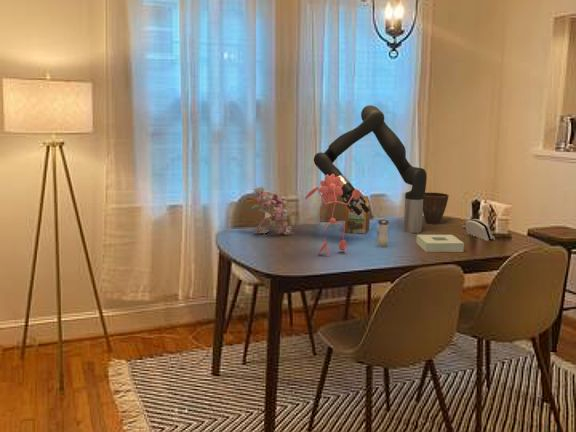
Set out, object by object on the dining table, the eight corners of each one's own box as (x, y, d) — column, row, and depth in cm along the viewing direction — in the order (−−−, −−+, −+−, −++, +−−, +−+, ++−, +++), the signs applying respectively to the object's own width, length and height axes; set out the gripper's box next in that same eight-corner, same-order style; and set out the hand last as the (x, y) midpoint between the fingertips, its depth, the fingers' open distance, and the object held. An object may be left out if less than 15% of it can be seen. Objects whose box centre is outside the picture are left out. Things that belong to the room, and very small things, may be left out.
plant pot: (441, 220, 336) (443, 192, 333) (450, 225, 322) (452, 196, 318) (416, 220, 335) (417, 192, 332) (423, 225, 321) (425, 196, 317)
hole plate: (416, 242, 281) (416, 234, 280) (451, 242, 282) (452, 234, 281) (425, 251, 264) (426, 243, 263) (463, 251, 265) (464, 243, 264)
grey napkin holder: (495, 240, 288) (491, 221, 286) (487, 243, 287) (483, 225, 285) (475, 232, 304) (470, 215, 301) (467, 236, 303) (463, 218, 300)
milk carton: (344, 233, 301) (345, 196, 297) (349, 229, 310) (350, 193, 307) (365, 234, 297) (366, 197, 294) (369, 230, 307) (370, 194, 304)
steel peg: (376, 245, 276) (377, 219, 274) (386, 245, 276) (387, 219, 274) (378, 247, 271) (379, 221, 269) (388, 247, 272) (389, 222, 269)
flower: (262, 239, 278) (284, 191, 279) (234, 226, 294) (254, 181, 295) (290, 251, 292) (310, 204, 293) (262, 238, 308) (281, 194, 309)
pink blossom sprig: (363, 252, 261) (364, 173, 255) (312, 259, 249) (313, 177, 243) (344, 246, 275) (345, 171, 269) (295, 252, 263) (295, 173, 257)
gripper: (341, 183, 272) (362, 210, 269) (354, 180, 284) (375, 205, 280) (330, 193, 276) (351, 220, 272) (344, 190, 288) (365, 215, 284)
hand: (364, 213), depth 276 cm, fingers open, 8 cm apart
